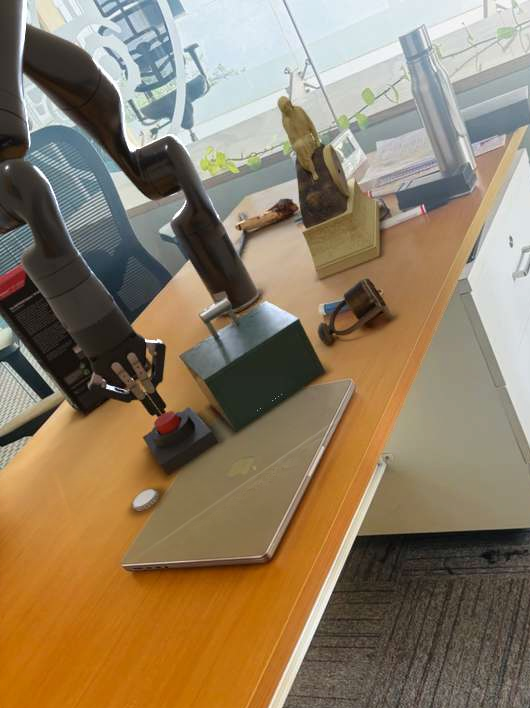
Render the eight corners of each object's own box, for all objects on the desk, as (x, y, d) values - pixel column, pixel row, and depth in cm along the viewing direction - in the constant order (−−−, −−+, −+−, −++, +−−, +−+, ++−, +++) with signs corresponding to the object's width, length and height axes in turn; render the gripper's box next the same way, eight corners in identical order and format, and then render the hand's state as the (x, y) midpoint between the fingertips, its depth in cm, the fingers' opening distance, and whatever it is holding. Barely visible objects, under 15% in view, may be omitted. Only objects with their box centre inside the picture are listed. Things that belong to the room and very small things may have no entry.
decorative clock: (379, 256, 134) (315, 93, 116) (319, 279, 138) (248, 124, 119) (379, 207, 156) (325, 63, 137) (327, 228, 159) (267, 90, 140)
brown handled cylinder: (377, 305, 105) (384, 262, 111) (301, 318, 109) (311, 277, 115) (391, 339, 111) (397, 297, 116) (318, 350, 115) (327, 309, 120)
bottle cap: (146, 490, 102) (144, 487, 101) (163, 492, 99) (161, 489, 99) (129, 509, 100) (126, 506, 99) (146, 512, 97) (143, 509, 97)
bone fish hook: (304, 204, 182) (245, 226, 187) (297, 187, 179) (237, 209, 184) (298, 217, 175) (236, 238, 180) (290, 198, 172) (228, 221, 177)
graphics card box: (141, 360, 142) (56, 237, 126) (156, 365, 137) (69, 237, 121) (74, 411, 136) (-25, 288, 119) (87, 417, 131) (-15, 291, 114)
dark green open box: (211, 405, 114) (183, 361, 109) (294, 351, 118) (270, 306, 112) (236, 431, 105) (206, 384, 99) (325, 372, 108) (301, 323, 102)
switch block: (150, 447, 112) (135, 428, 110) (196, 416, 114) (183, 397, 111) (168, 476, 103) (153, 456, 100) (218, 442, 104) (205, 422, 102)
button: (157, 429, 107) (151, 421, 106) (177, 417, 108) (171, 408, 107) (163, 437, 104) (157, 429, 103) (183, 424, 105) (177, 415, 104)
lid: (181, 359, 110) (162, 331, 106) (268, 304, 113) (252, 275, 109) (206, 384, 99) (186, 353, 96) (301, 323, 102) (285, 290, 99)
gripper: (126, 284, 98) (190, 382, 108) (44, 333, 95) (118, 429, 106) (137, 294, 92) (204, 397, 103) (50, 346, 90) (128, 446, 100)
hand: (160, 413), depth 104 cm, fingers closed
